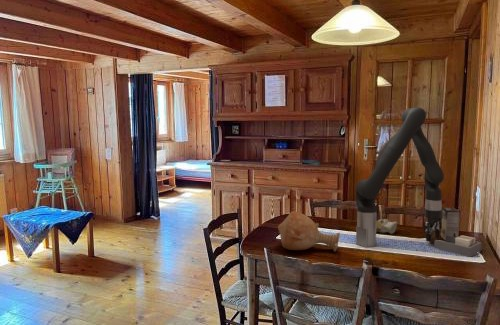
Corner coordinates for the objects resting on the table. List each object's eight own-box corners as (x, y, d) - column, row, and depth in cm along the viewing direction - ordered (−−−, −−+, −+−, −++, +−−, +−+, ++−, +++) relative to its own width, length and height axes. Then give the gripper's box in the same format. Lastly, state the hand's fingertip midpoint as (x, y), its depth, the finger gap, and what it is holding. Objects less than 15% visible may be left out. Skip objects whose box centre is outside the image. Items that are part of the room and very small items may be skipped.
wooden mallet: (468, 253, 169) (468, 241, 169) (426, 243, 185) (426, 231, 185) (474, 250, 174) (475, 238, 173) (433, 240, 189) (433, 229, 189)
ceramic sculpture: (394, 220, 198) (366, 218, 207) (395, 236, 198) (367, 233, 207) (399, 216, 207) (372, 215, 215) (399, 231, 207) (373, 229, 216)
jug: (280, 218, 196) (337, 226, 191) (275, 252, 186) (335, 262, 181) (280, 202, 179) (342, 211, 174) (274, 239, 169) (340, 249, 164)
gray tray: (469, 256, 166) (469, 248, 166) (434, 248, 179) (434, 240, 179) (481, 250, 174) (481, 242, 174) (446, 242, 187) (446, 235, 186)
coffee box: (440, 236, 198) (441, 207, 197) (453, 236, 197) (454, 207, 195) (445, 241, 189) (446, 210, 188) (459, 241, 188) (460, 211, 186)
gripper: (432, 205, 192) (432, 235, 193) (418, 209, 183) (418, 240, 185) (447, 207, 186) (446, 238, 187) (433, 211, 177) (433, 244, 179)
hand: (432, 239), depth 186 cm, fingers open, 8 cm apart
